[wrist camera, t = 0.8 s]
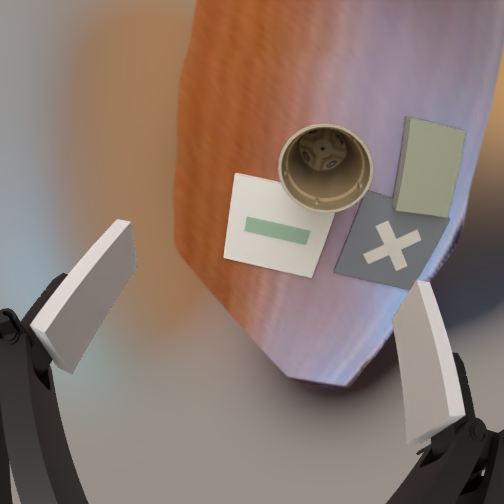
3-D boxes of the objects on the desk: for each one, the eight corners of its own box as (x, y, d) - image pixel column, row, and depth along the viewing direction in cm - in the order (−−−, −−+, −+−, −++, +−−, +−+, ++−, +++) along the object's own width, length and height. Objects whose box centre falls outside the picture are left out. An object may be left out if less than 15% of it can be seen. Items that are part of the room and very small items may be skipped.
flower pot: (269, 154, 36) (259, 179, 29) (312, 95, 31) (315, 104, 24) (328, 194, 38) (333, 229, 31) (374, 141, 33) (391, 165, 26)
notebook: (405, 116, 30) (410, 118, 28) (458, 128, 29) (465, 131, 27) (392, 204, 36) (395, 210, 35) (441, 211, 35) (447, 217, 33)
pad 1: (235, 172, 38) (234, 174, 38) (339, 196, 38) (340, 199, 37) (224, 255, 47) (223, 258, 46) (311, 275, 46) (311, 278, 46)
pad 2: (365, 189, 36) (366, 191, 36) (448, 217, 36) (450, 220, 35) (333, 270, 45) (333, 273, 44) (409, 287, 44) (410, 290, 44)
